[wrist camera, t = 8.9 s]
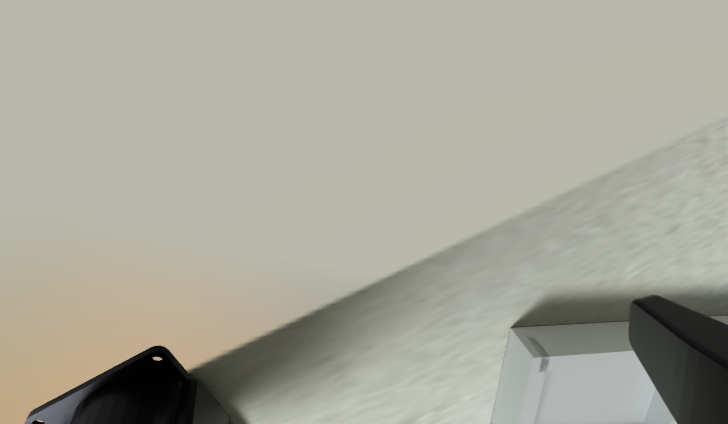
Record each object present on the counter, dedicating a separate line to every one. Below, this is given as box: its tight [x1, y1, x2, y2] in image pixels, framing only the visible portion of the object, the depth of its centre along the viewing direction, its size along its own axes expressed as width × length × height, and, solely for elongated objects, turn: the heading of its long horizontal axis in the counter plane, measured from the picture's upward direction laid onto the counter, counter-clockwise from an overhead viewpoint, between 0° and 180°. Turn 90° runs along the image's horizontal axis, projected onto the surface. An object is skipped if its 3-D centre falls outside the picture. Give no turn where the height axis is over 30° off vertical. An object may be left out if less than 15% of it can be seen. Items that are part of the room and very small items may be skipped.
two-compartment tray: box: [491, 315, 728, 424], centre depth 28 cm, size 18×8×2 cm, turn 86°
